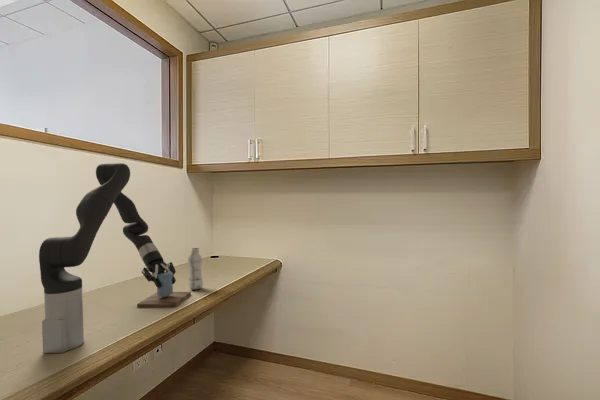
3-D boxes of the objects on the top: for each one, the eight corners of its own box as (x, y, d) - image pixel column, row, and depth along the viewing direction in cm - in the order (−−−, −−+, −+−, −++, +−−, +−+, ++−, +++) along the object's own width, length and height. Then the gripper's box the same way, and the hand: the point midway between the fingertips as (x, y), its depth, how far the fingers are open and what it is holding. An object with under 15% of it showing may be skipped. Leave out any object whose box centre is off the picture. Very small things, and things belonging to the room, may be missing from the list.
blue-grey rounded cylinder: (169, 296, 131) (168, 275, 131) (154, 296, 131) (154, 275, 131) (175, 291, 137) (174, 271, 137) (161, 292, 137) (160, 272, 137)
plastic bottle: (198, 291, 147) (197, 249, 147) (186, 290, 148) (184, 249, 148) (205, 287, 153) (204, 247, 153) (193, 287, 154) (192, 247, 154)
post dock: (175, 307, 126) (174, 287, 126) (137, 307, 126) (136, 288, 126) (190, 294, 142) (190, 277, 142) (156, 295, 142) (156, 278, 142)
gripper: (138, 252, 132) (155, 283, 125) (168, 247, 144) (185, 275, 138) (131, 263, 135) (148, 294, 128) (161, 258, 147) (178, 286, 140)
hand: (167, 284), depth 133 cm, fingers closed on blue-grey rounded cylinder, 6 cm apart
